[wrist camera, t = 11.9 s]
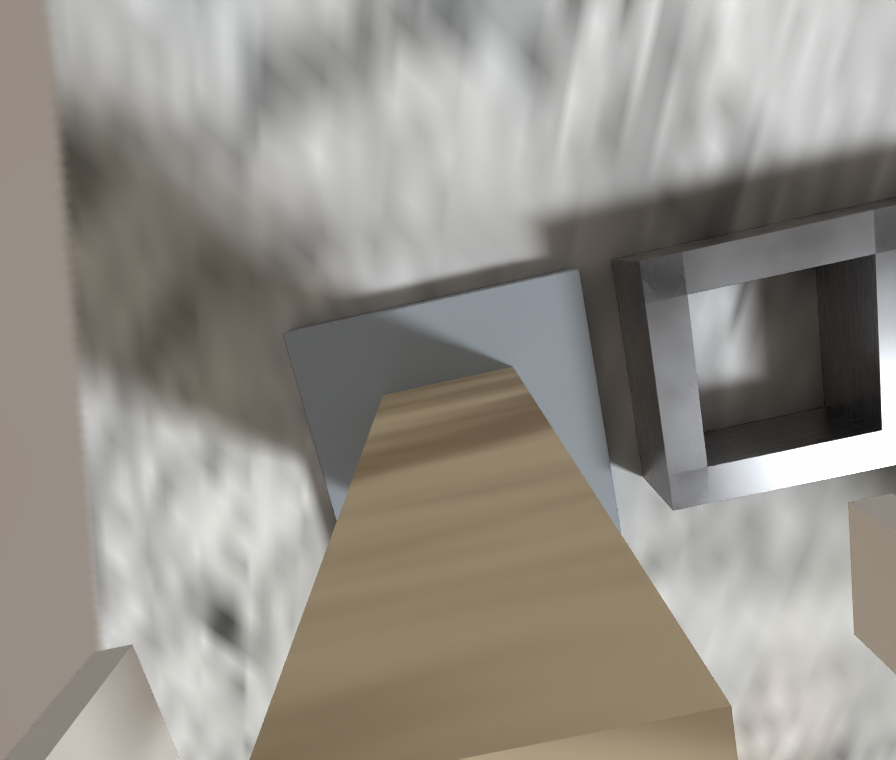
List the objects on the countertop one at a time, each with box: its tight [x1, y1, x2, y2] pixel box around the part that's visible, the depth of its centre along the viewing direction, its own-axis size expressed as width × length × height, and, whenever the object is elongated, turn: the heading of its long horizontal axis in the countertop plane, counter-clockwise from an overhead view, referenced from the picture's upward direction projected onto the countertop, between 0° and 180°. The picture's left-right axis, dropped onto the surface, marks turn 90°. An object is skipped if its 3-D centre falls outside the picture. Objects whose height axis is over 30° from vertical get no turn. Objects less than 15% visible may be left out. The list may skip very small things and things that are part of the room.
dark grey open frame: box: [612, 197, 896, 510], centre depth 20 cm, size 9×18×3 cm, turn 102°
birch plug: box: [250, 367, 738, 760], centre depth 14 cm, size 5×5×16 cm
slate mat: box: [283, 268, 621, 534], centre depth 22 cm, size 11×11×1 cm
